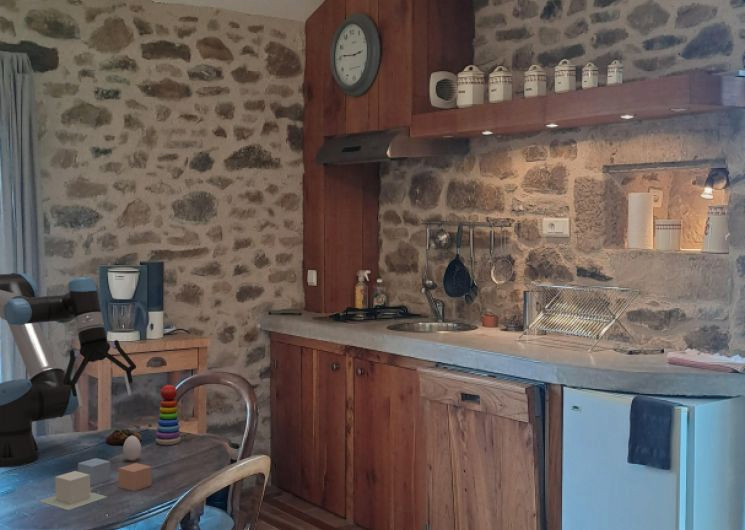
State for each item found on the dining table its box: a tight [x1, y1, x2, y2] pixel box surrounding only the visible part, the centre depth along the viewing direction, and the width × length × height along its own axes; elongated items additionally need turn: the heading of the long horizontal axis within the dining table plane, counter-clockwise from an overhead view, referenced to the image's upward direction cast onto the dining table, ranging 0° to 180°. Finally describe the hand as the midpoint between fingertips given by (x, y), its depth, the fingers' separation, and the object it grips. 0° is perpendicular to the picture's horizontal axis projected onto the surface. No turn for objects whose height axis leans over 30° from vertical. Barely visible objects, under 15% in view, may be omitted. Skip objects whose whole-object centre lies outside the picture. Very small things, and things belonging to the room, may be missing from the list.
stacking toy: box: [155, 384, 182, 446], centre depth 281 cm, size 8×8×19 cm
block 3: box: [118, 462, 153, 492], centre depth 234 cm, size 6×6×6 cm
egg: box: [122, 436, 142, 461], centre depth 261 cm, size 5×5×7 cm
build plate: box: [39, 491, 108, 511], centre depth 224 cm, size 12×12×1 cm
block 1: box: [54, 470, 91, 504], centre depth 223 cm, size 6×6×6 cm
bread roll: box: [105, 428, 143, 447], centre depth 283 cm, size 11×11×5 cm
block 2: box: [77, 457, 111, 486], centre depth 239 cm, size 6×6×6 cm
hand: (105, 401), depth 249 cm, fingers open, 13 cm apart
